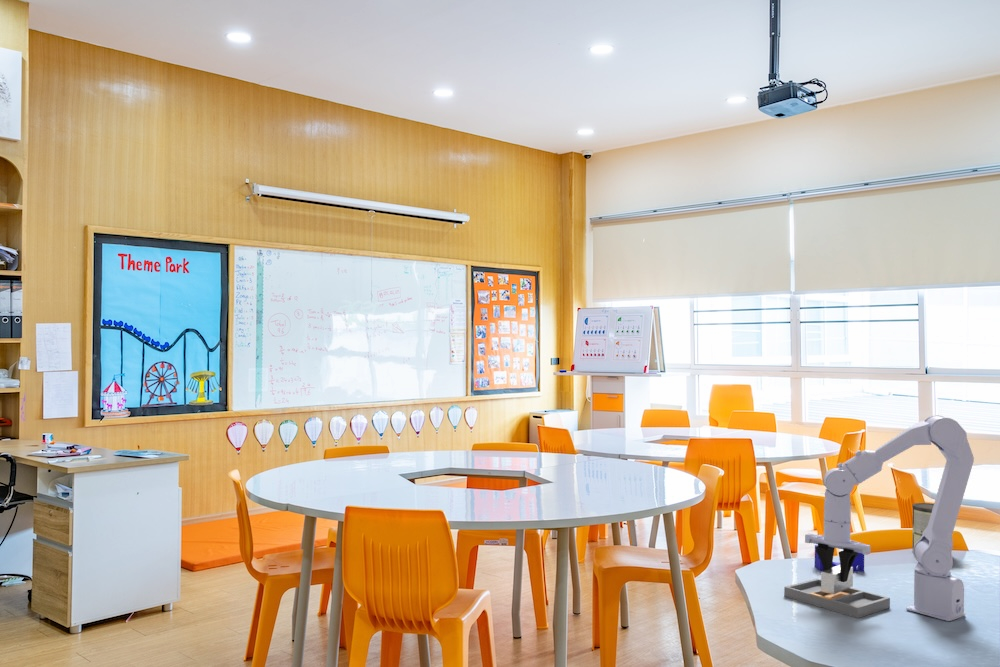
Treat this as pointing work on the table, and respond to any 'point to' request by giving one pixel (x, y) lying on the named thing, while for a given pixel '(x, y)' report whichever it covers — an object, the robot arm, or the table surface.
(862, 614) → the bay rack
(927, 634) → the table surface
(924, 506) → the coffee can
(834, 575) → the light grey rectangular block
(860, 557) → the blue arch block
